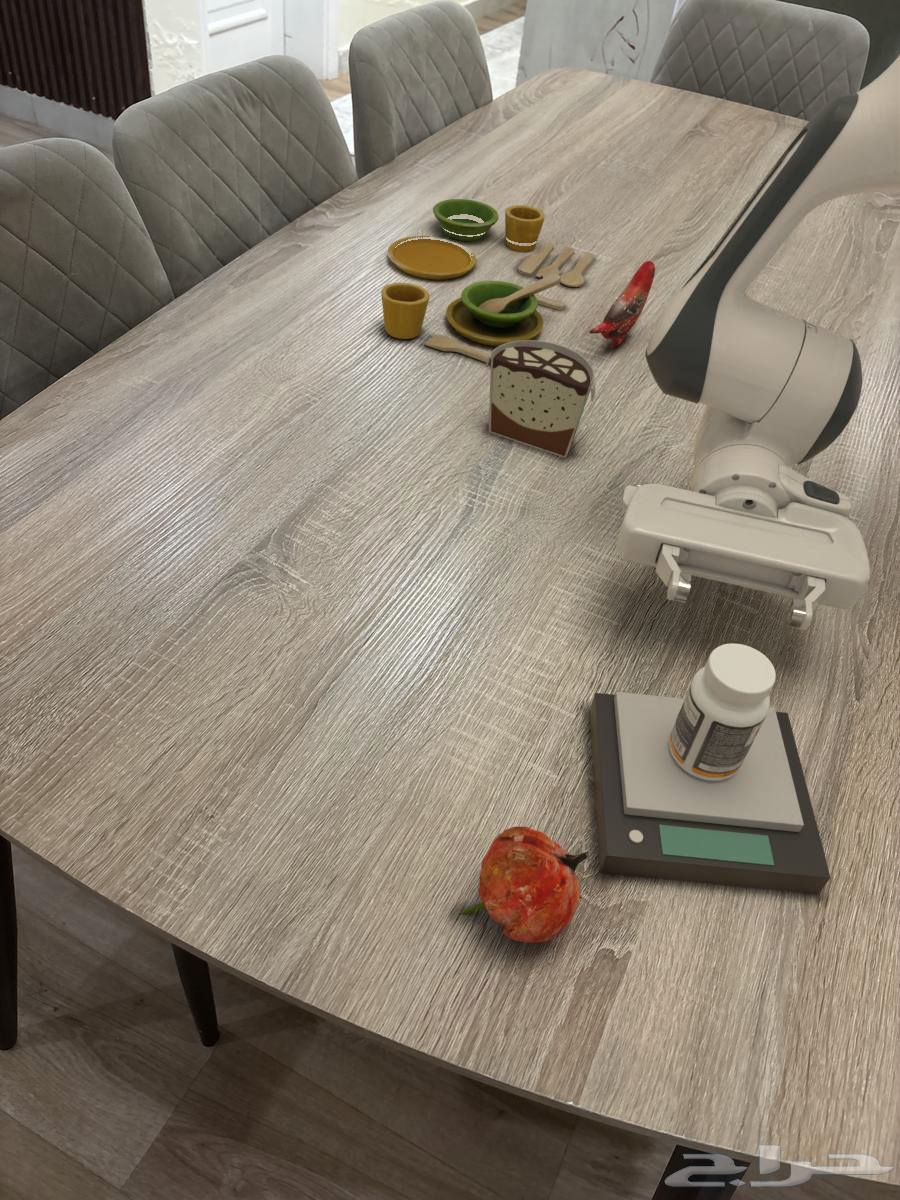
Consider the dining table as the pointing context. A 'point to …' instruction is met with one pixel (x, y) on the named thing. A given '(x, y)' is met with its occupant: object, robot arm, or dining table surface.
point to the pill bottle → (722, 712)
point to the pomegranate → (529, 885)
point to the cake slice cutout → (538, 393)
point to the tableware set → (483, 305)
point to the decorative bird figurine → (627, 306)
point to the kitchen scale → (700, 804)
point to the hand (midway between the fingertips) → (738, 609)
